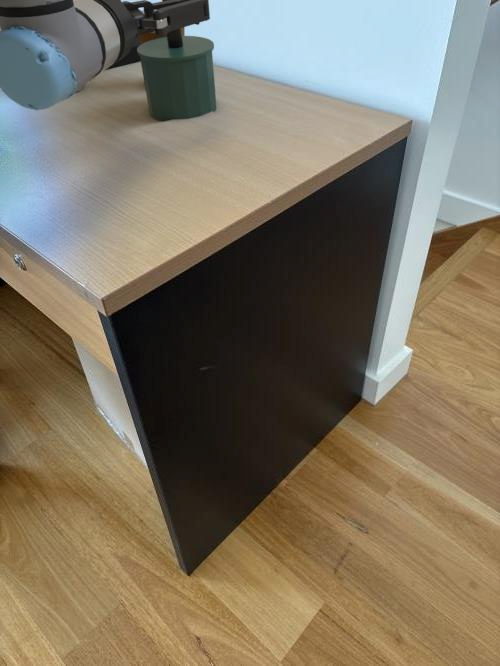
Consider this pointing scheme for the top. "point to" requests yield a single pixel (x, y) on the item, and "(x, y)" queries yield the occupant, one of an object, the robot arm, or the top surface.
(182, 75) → the pot
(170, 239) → the top surface
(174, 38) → the lid
